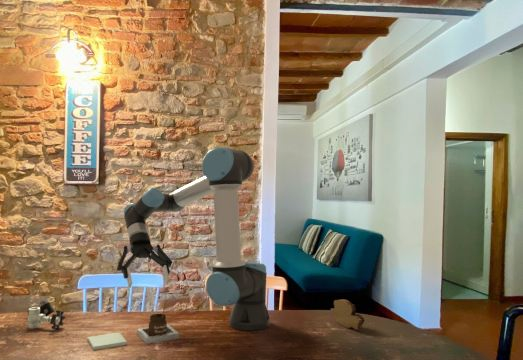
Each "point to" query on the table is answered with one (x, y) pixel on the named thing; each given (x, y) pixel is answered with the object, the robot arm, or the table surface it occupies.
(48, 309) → the lighter
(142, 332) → the grey square frame
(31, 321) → the valve
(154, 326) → the utensil holder
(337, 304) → the wooden carving
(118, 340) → the green tile
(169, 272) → the robot arm
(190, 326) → the table surface
